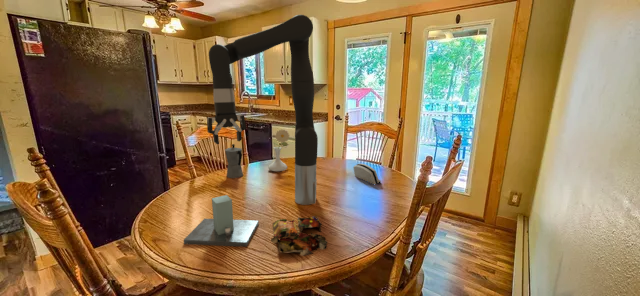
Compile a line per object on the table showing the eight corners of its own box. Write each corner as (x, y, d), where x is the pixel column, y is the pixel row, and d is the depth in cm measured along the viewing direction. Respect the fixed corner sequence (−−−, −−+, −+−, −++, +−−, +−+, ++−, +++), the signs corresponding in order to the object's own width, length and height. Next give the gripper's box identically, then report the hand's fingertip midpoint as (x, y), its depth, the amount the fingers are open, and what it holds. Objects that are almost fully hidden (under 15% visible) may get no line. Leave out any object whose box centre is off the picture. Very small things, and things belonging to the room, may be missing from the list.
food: (333, 254, 81) (333, 244, 80) (271, 262, 77) (270, 251, 76) (318, 220, 102) (318, 211, 101) (269, 225, 98) (268, 216, 97)
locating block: (228, 224, 93) (226, 195, 91) (233, 230, 89) (231, 199, 87) (214, 228, 90) (211, 198, 88) (218, 234, 86) (216, 203, 84)
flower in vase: (265, 172, 156) (264, 130, 150) (272, 166, 167) (271, 127, 161) (287, 173, 154) (286, 131, 148) (292, 168, 164) (292, 128, 159)
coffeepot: (221, 174, 150) (219, 143, 146) (237, 171, 157) (235, 141, 153) (234, 181, 140) (232, 148, 136) (250, 177, 146) (249, 145, 142)
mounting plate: (258, 224, 96) (258, 214, 96) (246, 246, 83) (246, 235, 82) (204, 222, 97) (203, 212, 96) (184, 244, 84) (182, 232, 83)
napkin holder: (381, 183, 141) (378, 167, 137) (375, 187, 139) (371, 171, 135) (361, 174, 155) (357, 159, 151) (355, 178, 153) (351, 163, 149)
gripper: (207, 102, 94) (212, 146, 98) (246, 100, 103) (249, 141, 106) (202, 101, 100) (207, 143, 104) (239, 100, 108) (242, 138, 112)
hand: (228, 142), depth 105 cm, fingers open, 8 cm apart
